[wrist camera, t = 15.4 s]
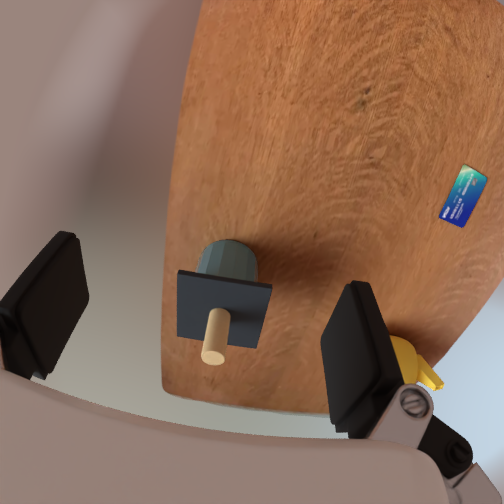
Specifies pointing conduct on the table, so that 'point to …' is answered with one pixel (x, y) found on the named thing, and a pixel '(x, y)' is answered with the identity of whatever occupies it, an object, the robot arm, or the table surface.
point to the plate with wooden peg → (220, 312)
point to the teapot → (414, 365)
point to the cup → (228, 261)
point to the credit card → (463, 196)
